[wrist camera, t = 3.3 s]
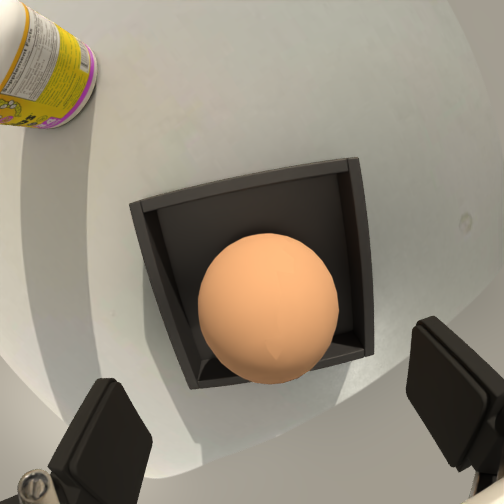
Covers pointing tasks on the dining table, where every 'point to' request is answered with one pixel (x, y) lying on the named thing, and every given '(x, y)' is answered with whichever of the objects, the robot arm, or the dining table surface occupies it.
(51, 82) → the supplement bottle
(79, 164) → the dining table surface
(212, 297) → the egg
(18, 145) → the dining table surface
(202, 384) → the tray
